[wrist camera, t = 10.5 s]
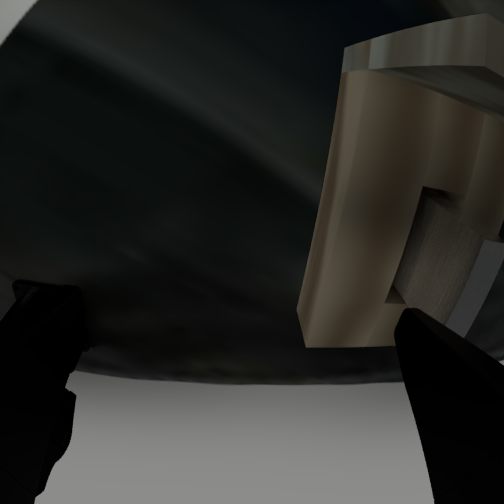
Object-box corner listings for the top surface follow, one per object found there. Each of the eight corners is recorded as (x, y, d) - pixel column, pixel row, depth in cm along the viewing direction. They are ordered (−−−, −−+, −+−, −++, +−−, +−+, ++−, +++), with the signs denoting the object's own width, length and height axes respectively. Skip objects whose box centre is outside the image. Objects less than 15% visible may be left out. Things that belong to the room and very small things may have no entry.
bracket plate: (380, 265, 21) (433, 346, 14) (405, 182, 18) (484, 239, 11) (404, 267, 21) (460, 344, 14) (429, 187, 18) (509, 244, 11)
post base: (296, 309, 23) (330, 457, 13) (344, 47, 15) (487, 13, 4) (427, 311, 24) (494, 418, 14) (491, 103, 16) (625, 147, 5)
